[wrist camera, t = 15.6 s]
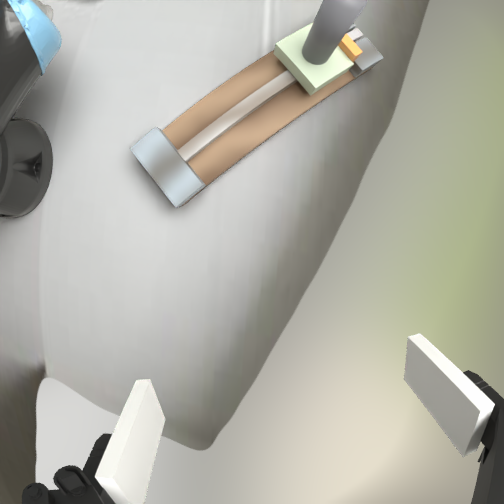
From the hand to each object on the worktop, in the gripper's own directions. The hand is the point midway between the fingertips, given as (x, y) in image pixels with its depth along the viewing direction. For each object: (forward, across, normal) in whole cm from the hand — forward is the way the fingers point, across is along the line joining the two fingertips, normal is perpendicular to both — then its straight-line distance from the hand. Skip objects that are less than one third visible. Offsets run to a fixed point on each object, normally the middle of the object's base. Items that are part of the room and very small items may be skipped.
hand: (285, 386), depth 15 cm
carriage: (+25, +10, +24) cm, 36 cm away
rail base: (+28, +4, +20) cm, 35 cm away
